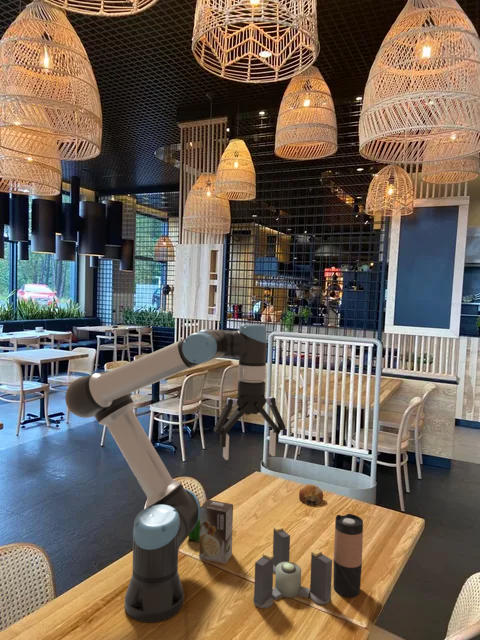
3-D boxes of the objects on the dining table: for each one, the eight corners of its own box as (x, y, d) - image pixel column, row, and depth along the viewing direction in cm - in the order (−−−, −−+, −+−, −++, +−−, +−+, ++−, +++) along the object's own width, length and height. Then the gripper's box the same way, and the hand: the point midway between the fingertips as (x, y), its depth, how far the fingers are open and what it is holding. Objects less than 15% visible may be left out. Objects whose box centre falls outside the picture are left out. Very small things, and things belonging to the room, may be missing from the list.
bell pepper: (194, 547, 143) (195, 516, 143) (180, 537, 149) (181, 507, 149) (215, 539, 149) (216, 509, 148) (200, 529, 155) (201, 501, 154)
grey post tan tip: (334, 599, 119) (335, 556, 118) (320, 607, 116) (322, 562, 115) (319, 589, 123) (320, 547, 123) (306, 596, 120) (307, 553, 119)
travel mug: (355, 602, 118) (358, 529, 118) (328, 592, 122) (331, 521, 122) (364, 588, 125) (366, 518, 124) (337, 578, 129) (340, 510, 128)
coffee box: (232, 554, 140) (234, 503, 139) (225, 564, 134) (227, 512, 133) (206, 547, 143) (207, 498, 143) (197, 558, 137) (199, 506, 137)
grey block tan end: (292, 572, 130) (294, 532, 130) (277, 577, 128) (279, 536, 128) (282, 563, 135) (284, 524, 135) (268, 567, 133) (269, 528, 132)
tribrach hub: (274, 605, 116) (274, 580, 116) (259, 580, 127) (260, 557, 126) (313, 598, 120) (314, 573, 119) (296, 574, 130) (297, 551, 130)
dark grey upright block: (265, 611, 113) (267, 565, 113) (249, 602, 116) (250, 558, 116) (276, 600, 118) (278, 556, 117) (260, 592, 121) (261, 549, 120)
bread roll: (324, 509, 182) (328, 489, 185) (316, 506, 174) (320, 485, 177) (302, 502, 187) (306, 483, 190) (293, 500, 179) (297, 479, 182)
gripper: (287, 377, 129) (285, 449, 130) (204, 378, 122) (202, 455, 122) (298, 381, 122) (296, 457, 123) (211, 383, 115) (208, 464, 115)
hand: (249, 456), depth 122 cm, fingers open, 13 cm apart
